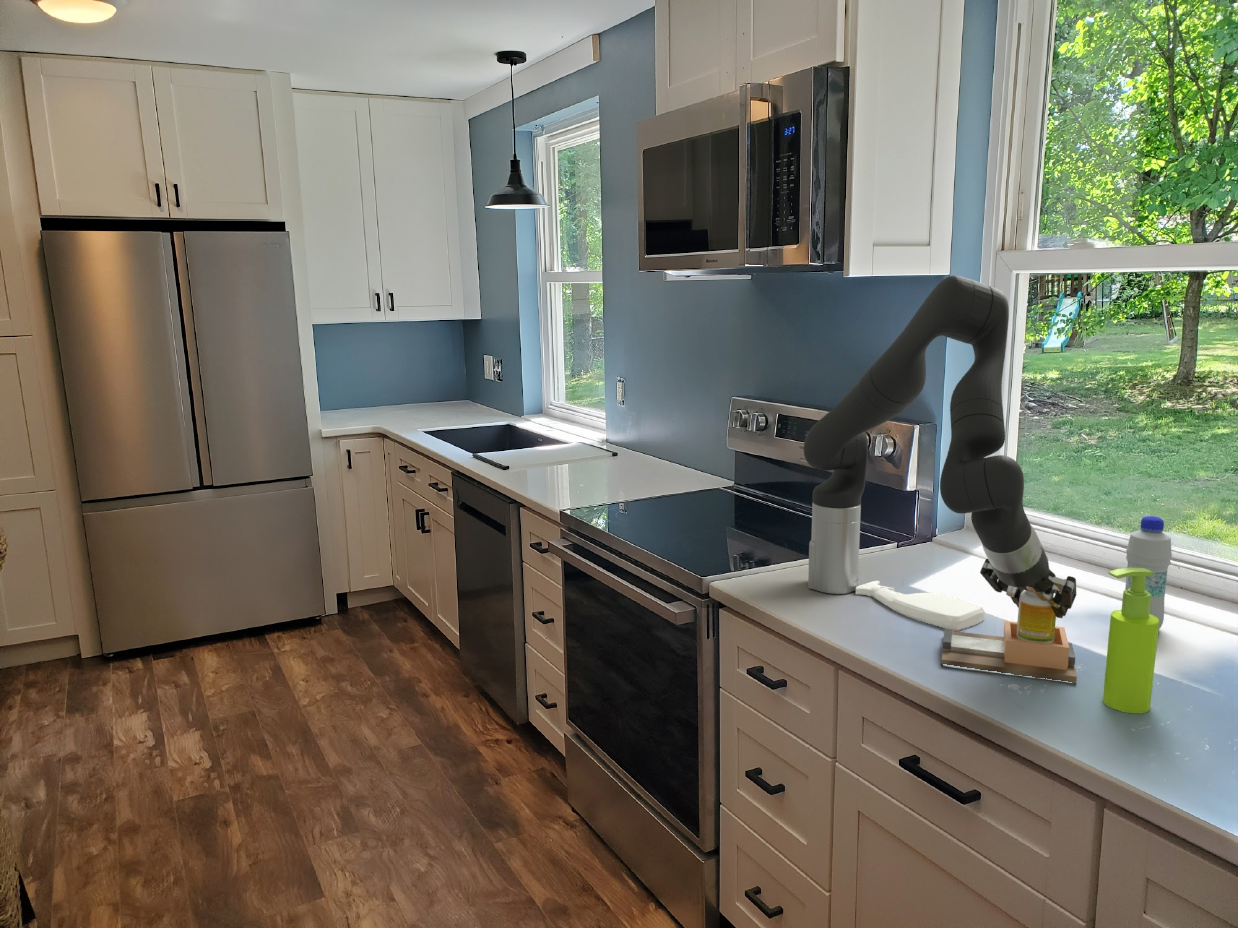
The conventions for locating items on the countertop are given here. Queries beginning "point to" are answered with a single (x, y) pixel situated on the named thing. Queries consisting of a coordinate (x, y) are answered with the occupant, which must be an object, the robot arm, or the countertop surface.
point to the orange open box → (1036, 649)
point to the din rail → (983, 646)
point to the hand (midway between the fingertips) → (1041, 607)
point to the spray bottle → (927, 606)
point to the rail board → (1003, 663)
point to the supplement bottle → (1035, 619)
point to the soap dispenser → (1131, 647)
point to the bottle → (1151, 560)
